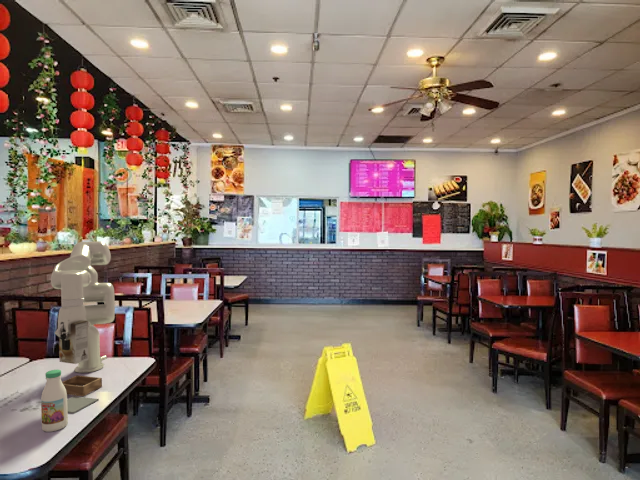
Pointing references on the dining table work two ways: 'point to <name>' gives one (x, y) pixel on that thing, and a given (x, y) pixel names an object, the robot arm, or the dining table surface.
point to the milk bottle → (54, 403)
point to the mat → (78, 403)
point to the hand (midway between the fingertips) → (73, 346)
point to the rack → (87, 382)
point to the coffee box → (76, 344)
